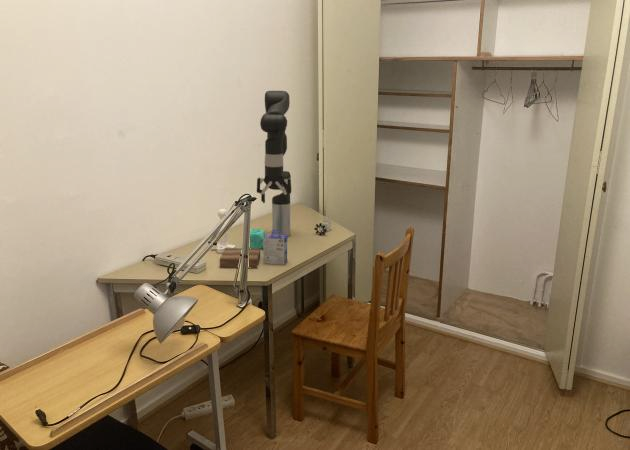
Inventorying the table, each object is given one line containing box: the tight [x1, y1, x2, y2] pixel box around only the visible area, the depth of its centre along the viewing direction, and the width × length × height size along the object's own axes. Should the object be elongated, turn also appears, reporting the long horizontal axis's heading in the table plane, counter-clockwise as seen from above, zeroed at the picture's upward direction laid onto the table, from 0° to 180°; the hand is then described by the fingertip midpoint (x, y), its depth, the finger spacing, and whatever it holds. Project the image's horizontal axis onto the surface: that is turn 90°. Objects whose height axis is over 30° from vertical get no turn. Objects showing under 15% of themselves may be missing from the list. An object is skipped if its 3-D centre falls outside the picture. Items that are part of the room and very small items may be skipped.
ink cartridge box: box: [262, 230, 288, 266], centre depth 236 cm, size 10×6×14 cm, turn 79°
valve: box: [314, 217, 332, 236], centre depth 279 cm, size 7×7×12 cm
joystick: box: [211, 208, 236, 254], centre depth 248 cm, size 11×8×20 cm
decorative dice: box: [249, 228, 266, 250], centre depth 256 cm, size 8×8×8 cm
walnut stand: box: [219, 247, 261, 269], centre depth 237 cm, size 14×16×4 cm
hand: (274, 202), depth 222 cm, fingers open, 8 cm apart
